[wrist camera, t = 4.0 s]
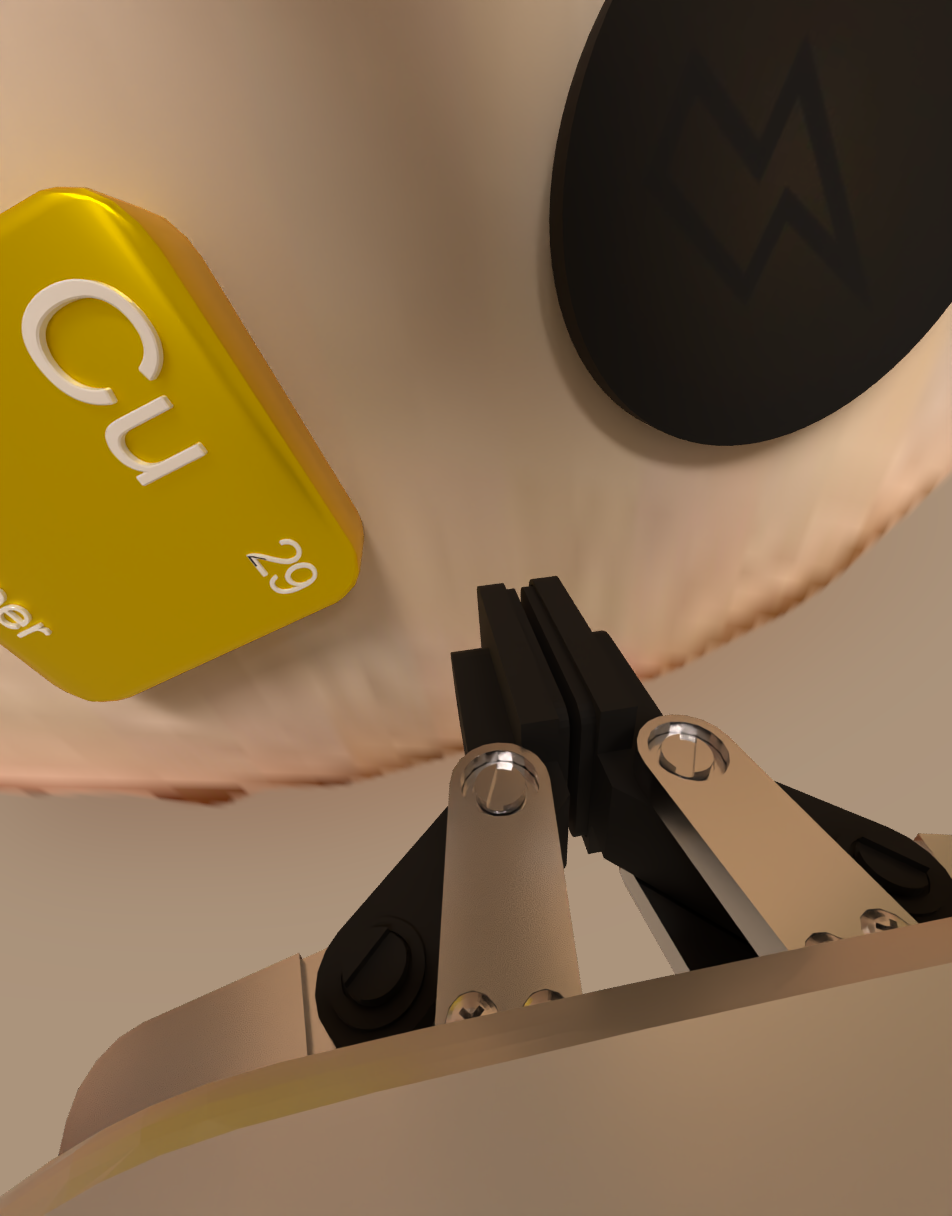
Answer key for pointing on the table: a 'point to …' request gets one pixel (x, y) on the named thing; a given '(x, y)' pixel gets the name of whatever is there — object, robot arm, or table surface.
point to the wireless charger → (753, 206)
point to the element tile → (146, 458)
